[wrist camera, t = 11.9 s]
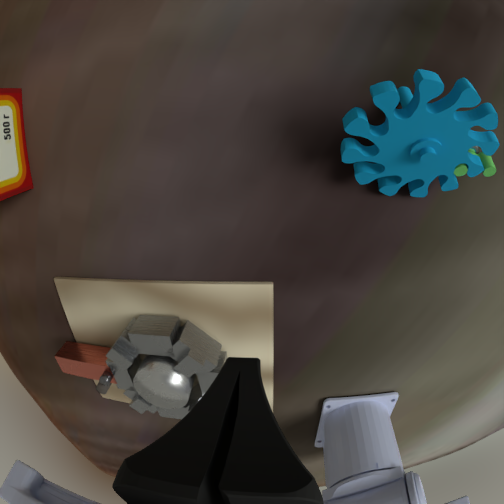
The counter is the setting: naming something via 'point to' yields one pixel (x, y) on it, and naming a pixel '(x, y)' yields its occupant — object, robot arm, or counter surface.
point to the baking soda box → (13, 145)
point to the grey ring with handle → (152, 343)
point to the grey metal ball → (162, 382)
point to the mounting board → (173, 304)
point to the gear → (421, 136)
